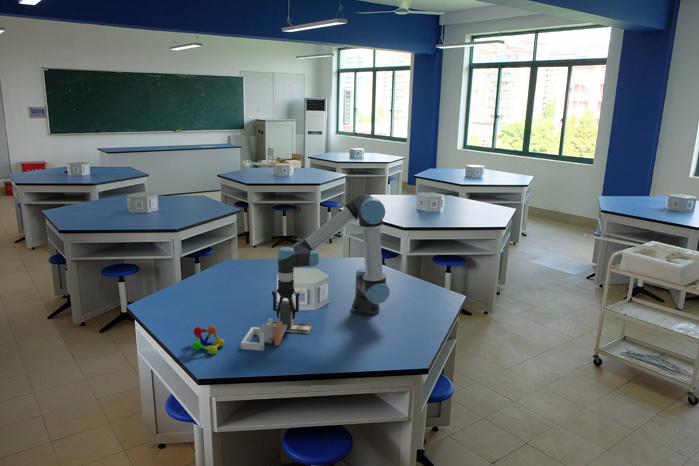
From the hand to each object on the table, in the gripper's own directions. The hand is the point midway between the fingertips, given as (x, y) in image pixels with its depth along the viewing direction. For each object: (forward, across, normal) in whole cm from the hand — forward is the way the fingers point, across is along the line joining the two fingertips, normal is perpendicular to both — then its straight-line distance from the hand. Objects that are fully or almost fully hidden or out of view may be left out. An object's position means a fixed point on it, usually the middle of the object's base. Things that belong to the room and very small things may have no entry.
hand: (286, 324), depth 254 cm
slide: (+2, -1, 0) cm, 2 cm away
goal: (+2, +10, +16) cm, 19 cm away
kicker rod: (+2, 0, +9) cm, 9 cm away
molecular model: (+2, +30, +27) cm, 41 cm away
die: (+2, +6, +16) cm, 17 cm away
